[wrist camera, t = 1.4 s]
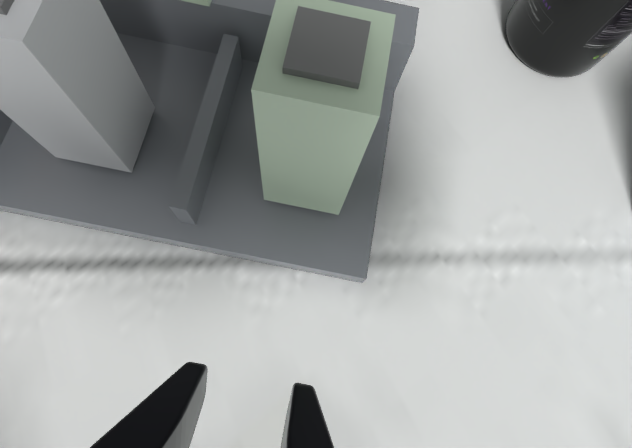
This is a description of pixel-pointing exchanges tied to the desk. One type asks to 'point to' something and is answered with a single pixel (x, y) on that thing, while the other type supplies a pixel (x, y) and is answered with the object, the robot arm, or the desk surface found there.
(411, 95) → the desk surface
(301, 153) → the pale green tall block
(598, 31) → the supplement bottle
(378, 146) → the block sorting stand
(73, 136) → the grey block
